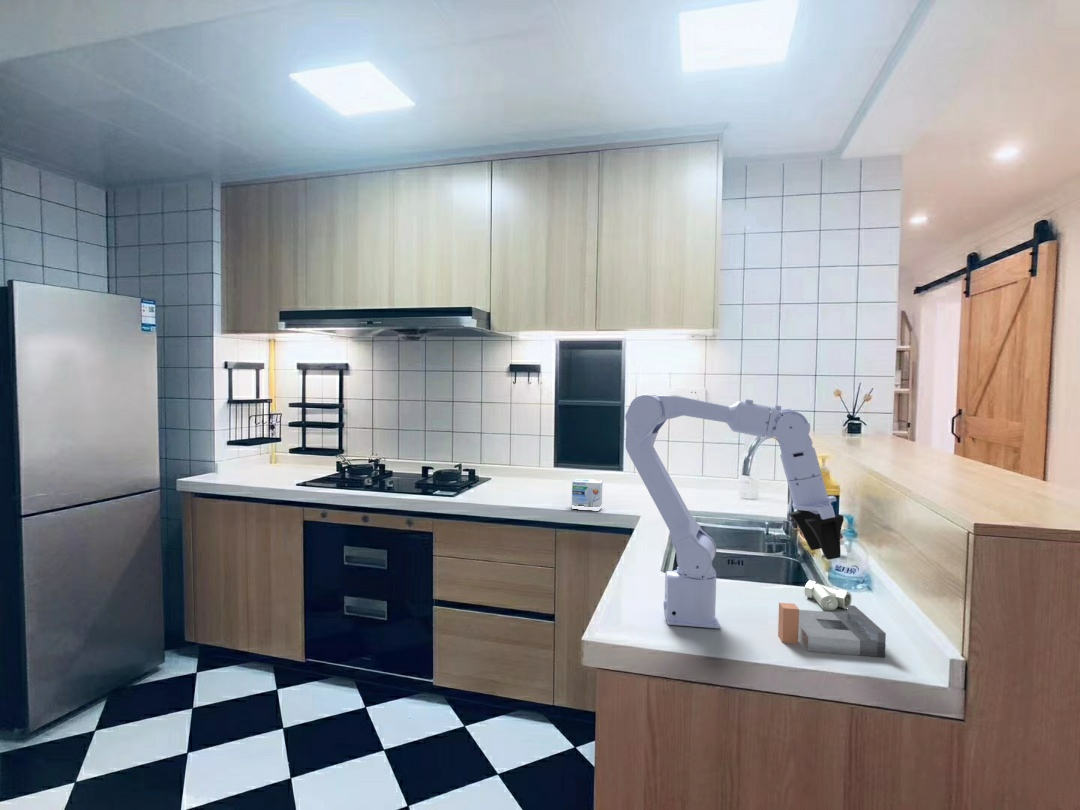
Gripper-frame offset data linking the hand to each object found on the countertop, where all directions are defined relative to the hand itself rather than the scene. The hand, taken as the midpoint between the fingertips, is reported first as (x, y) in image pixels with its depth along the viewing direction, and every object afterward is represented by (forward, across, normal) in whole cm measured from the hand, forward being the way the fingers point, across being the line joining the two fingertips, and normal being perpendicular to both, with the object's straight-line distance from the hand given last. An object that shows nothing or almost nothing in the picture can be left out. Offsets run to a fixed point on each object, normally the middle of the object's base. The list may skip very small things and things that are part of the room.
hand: (825, 553), depth 95 cm
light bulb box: (-4, +102, +48) cm, 113 cm away
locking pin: (+13, 0, +10) cm, 17 cm away
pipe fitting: (+16, +20, -2) cm, 25 cm away
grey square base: (+15, +3, +2) cm, 16 cm away
